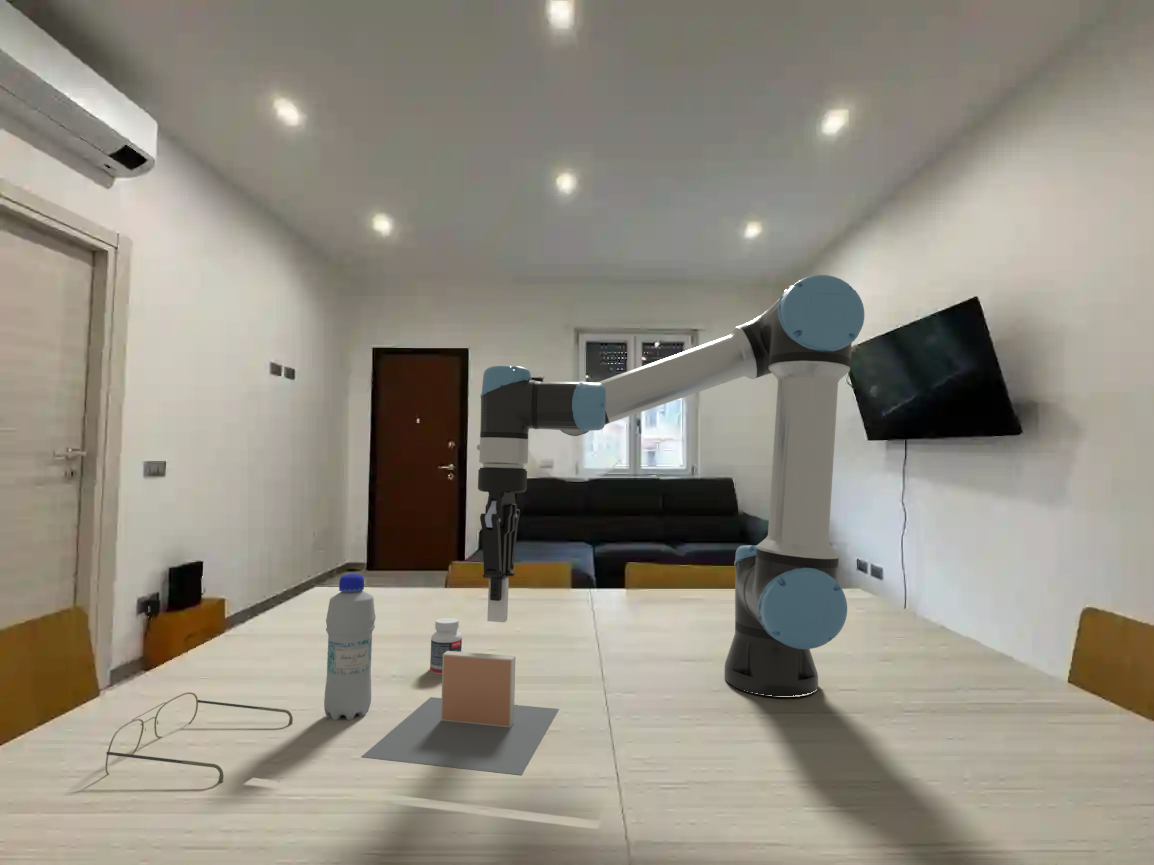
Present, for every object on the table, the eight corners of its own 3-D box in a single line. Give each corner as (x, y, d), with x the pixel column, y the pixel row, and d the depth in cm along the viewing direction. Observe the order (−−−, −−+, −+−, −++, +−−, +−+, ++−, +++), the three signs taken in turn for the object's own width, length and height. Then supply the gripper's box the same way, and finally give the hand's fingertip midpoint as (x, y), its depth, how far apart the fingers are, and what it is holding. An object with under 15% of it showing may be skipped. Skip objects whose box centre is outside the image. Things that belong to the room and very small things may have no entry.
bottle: (324, 729, 84) (330, 579, 85) (319, 711, 90) (325, 571, 91) (376, 720, 87) (381, 576, 88) (368, 704, 93) (372, 568, 94)
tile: (513, 722, 86) (515, 656, 86) (510, 727, 84) (512, 659, 84) (445, 715, 87) (447, 650, 88) (440, 720, 86) (442, 654, 86)
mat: (559, 713, 91) (559, 708, 91) (521, 780, 71) (521, 774, 71) (430, 701, 94) (430, 697, 94) (360, 761, 75) (361, 756, 75)
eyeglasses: (186, 724, 86) (188, 686, 86) (292, 727, 85) (294, 689, 86) (92, 782, 70) (95, 736, 70) (222, 786, 70) (224, 740, 70)
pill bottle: (453, 678, 105) (455, 625, 105) (424, 676, 106) (426, 623, 106) (465, 668, 110) (466, 617, 110) (437, 666, 111) (439, 615, 111)
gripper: (493, 466, 104) (487, 609, 102) (464, 465, 91) (458, 629, 90) (537, 467, 102) (532, 612, 101) (514, 466, 89) (508, 633, 88)
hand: (497, 620), depth 95 cm, fingers closed
